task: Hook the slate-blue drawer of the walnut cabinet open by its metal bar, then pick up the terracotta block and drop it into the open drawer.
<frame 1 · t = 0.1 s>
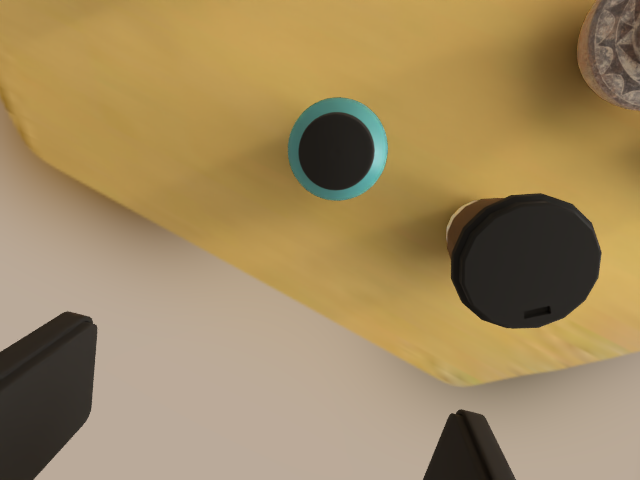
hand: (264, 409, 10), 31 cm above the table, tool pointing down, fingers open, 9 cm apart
beverage bottle: (340, 145, 38), on the table
coffee cup: (476, 229, 40), on the table
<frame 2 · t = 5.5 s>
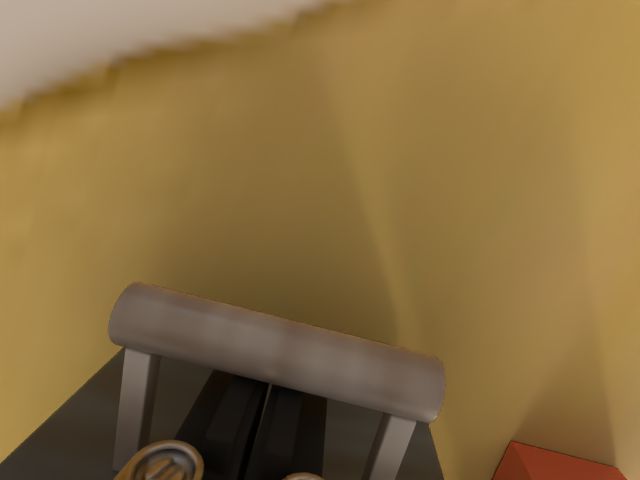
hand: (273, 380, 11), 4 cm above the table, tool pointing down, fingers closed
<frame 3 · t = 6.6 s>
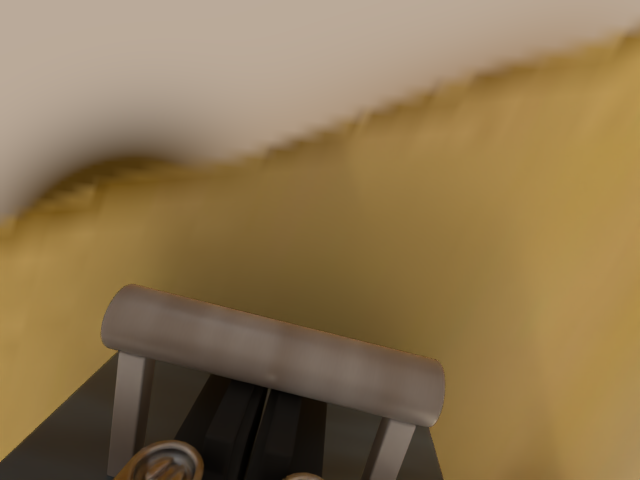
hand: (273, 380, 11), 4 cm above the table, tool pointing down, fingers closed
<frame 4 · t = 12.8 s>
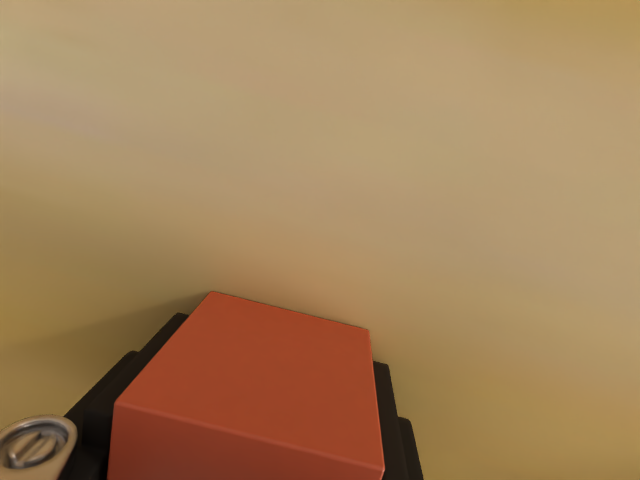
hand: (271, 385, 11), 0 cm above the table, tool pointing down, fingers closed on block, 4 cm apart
block: (274, 377, 11), on the table, touching gripper
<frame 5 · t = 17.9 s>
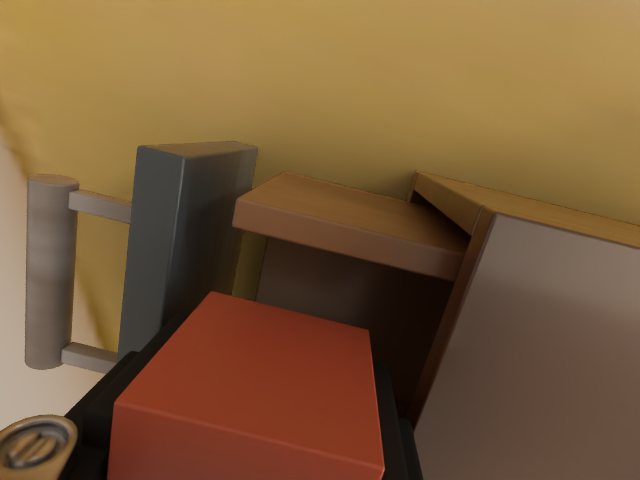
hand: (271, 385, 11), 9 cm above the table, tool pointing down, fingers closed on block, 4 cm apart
cabinet: (518, 328, 19), on the table
drawer: (287, 320, 14), point 5 cm above the table, slide at 7.0 cm
block: (274, 377, 11), point 8 cm above the table, touching gripper
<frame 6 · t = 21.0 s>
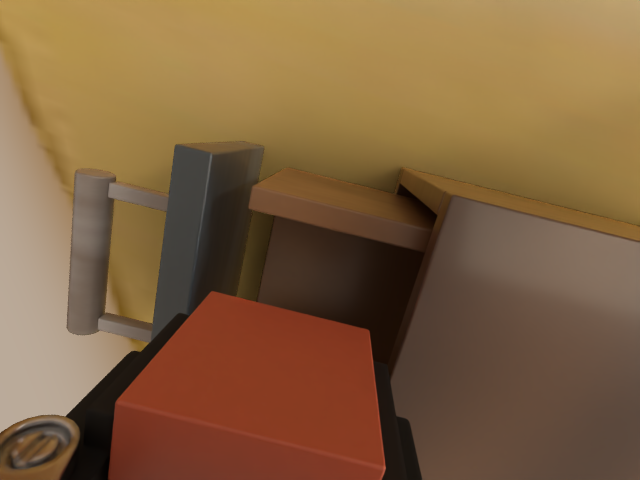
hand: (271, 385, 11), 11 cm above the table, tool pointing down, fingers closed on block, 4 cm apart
cabinet: (493, 306, 21), on the table
drawer: (290, 293, 17), point 5 cm above the table, slide at 7.0 cm
block: (274, 377, 11), point 11 cm above the table, touching gripper
when the fingers open (11 cm above the table, at t = 29.5 s): block drops 9 cm, resting on drawer.
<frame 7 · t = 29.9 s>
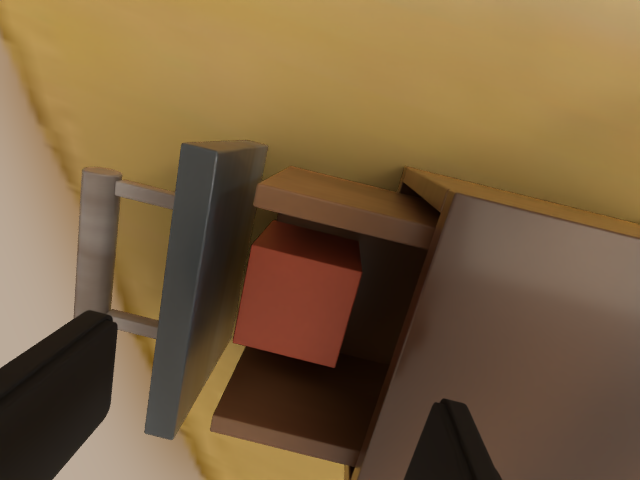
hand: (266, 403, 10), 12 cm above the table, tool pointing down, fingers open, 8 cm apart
cabinet: (495, 305, 21), on the table
drawer: (293, 290, 17), point 5 cm above the table, slide at 7.1 cm, touching block
block: (306, 270, 20), point 2 cm above the table, touching drawer
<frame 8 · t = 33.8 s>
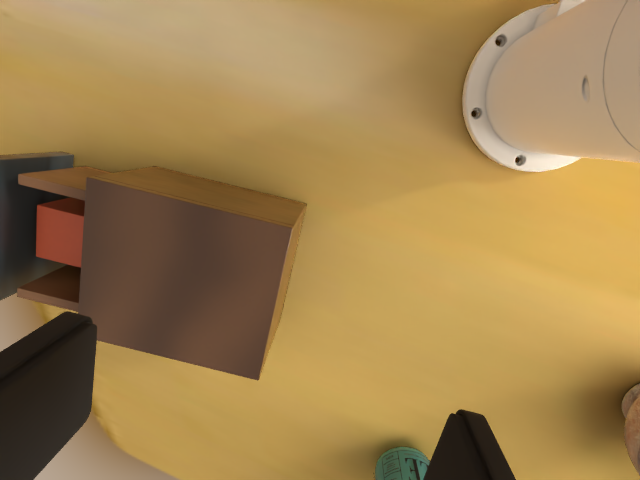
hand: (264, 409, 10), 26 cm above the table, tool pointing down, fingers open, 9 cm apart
cabinet: (220, 247, 37), on the table
beverage bottle: (401, 455, 42), on the table
drawer: (74, 231, 32), point 5 cm above the table, slide at 7.1 cm, touching block
block: (98, 225, 35), point 2 cm above the table, touching drawer
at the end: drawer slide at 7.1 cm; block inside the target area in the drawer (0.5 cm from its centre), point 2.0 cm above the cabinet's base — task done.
